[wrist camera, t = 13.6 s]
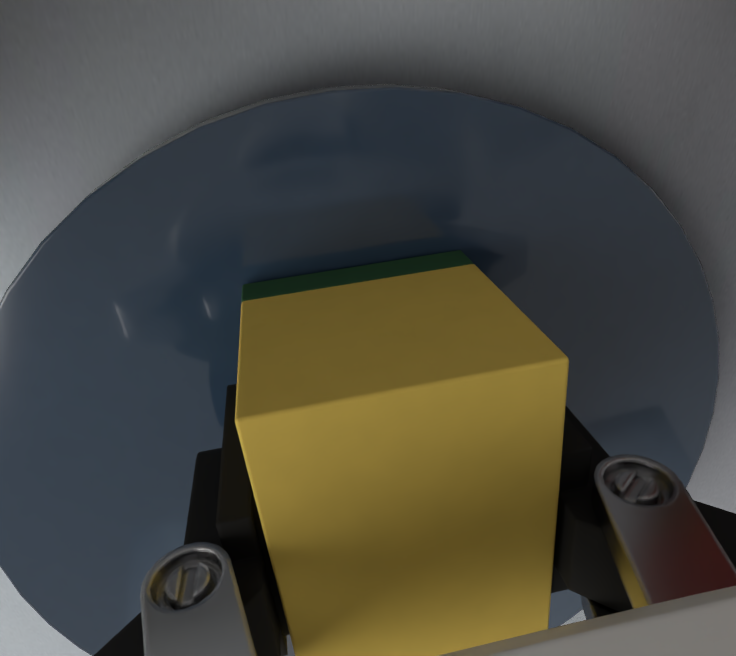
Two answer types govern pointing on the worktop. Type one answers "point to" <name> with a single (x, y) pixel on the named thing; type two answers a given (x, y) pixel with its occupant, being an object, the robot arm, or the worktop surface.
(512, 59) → the worktop surface
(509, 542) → the sponge
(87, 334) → the plate
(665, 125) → the worktop surface
